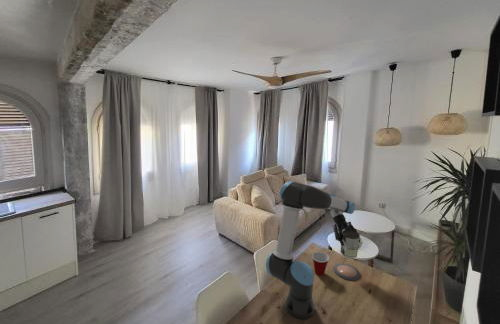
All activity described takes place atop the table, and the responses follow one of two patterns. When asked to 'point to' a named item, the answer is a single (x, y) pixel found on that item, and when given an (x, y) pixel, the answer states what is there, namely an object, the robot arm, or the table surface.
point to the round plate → (346, 271)
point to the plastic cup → (320, 262)
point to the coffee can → (350, 243)
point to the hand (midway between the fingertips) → (353, 249)
